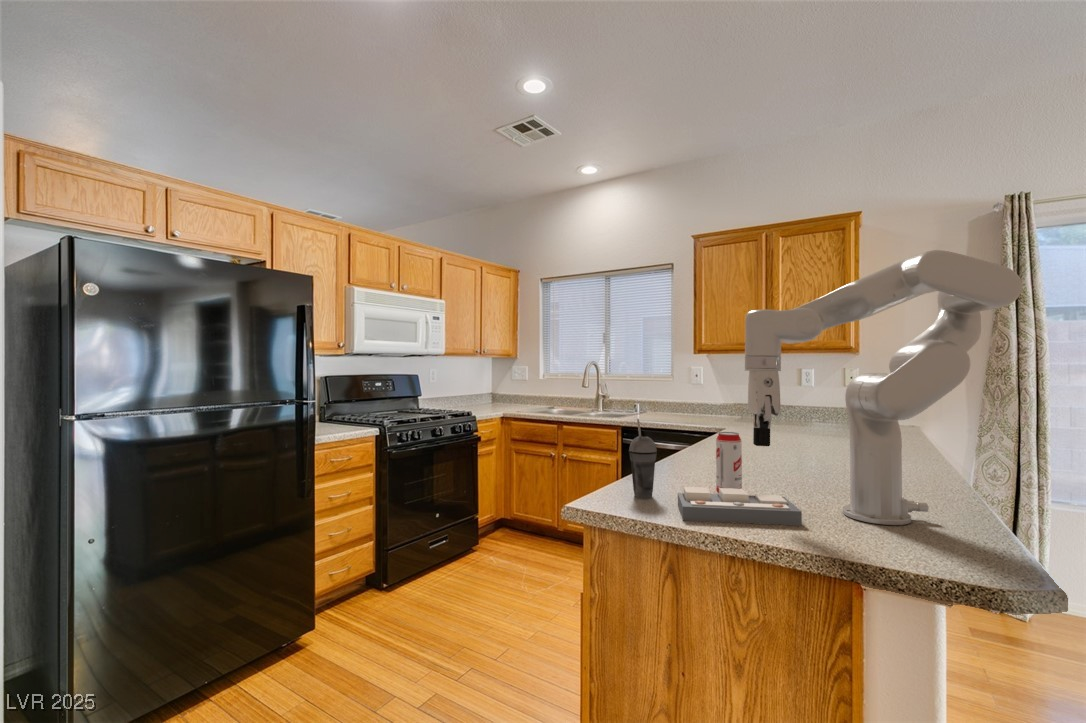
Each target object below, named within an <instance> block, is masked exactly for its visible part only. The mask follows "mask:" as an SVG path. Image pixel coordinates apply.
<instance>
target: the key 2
mask: <svg viewBox="0 0 1086 723" xmlns="http://www.w3.org/2000/svg"><path fill="white" fill-rule="evenodd" d="M754 496H755V499H756V500H757V501H758V502H759V503H760V504H784V505H787V501H786V500H785V499H784V498H782V497H783V496H781V495H780V494H779V495H778V494H754Z"/></svg>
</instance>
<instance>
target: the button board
mask: <svg viewBox="0 0 1086 723" xmlns="http://www.w3.org/2000/svg"><path fill="white" fill-rule="evenodd" d="M748 495H749V503H741V502H722V501H721V500H720V498H719V493H711V502H709V501H685V499H684V492H677V506H678V510H679V513H680V517H681V520H682V521H684V522H685V521H689V522H707V521H716V523H728V522H742V523H741V524H750V523H761V524H760V525H771V524H778V525H777V526H793V527H794V526H796V527H797V526H798V527H802V526H803V524H802V522H803V520H802V519H803V516H802V515H803V514H802V511H801V509H800V508H798V507H797V506H796V505H795V504H793V502H791V501H790V500H789V499H787V497H786V496H781V497H782V498H784V499H785V500H786V501H787V505H784V504H760V503H759V502H758V501H757V500H756V499H755V495H750V494H748ZM744 522H745V523H744ZM779 524H780V525H779Z"/></svg>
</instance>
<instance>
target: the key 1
mask: <svg viewBox="0 0 1086 723" xmlns="http://www.w3.org/2000/svg"><path fill="white" fill-rule="evenodd" d="M683 493H684V499H685V501H709V502H711V494H712V493H711V491H710V489H709V487H704V486H702V487H701V486H699V487H697V486H683Z"/></svg>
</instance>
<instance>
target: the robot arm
mask: <svg viewBox="0 0 1086 723" xmlns="http://www.w3.org/2000/svg"><path fill="white" fill-rule="evenodd" d="M1022 290H1023V283H1022V279H1021V278H1020V276H1019V274H1018V273H1016V271H1014V270H1013V269H1011V268H1009V267H1007V266H1005V265H1002V264H999V263H995V262H991V261H988V260H984V259H981V258H976V257H973V256H969V255H966V254H965V255H964V254H961V253H957V252H953V251H949V250H941V249H940V250H939V249H934V250H928V251H925V252H923V253H920V254H917V255H915V256H911V257H908V258H906V259H903V260H901V261H898V262H896V263H894V264H892V265H889V266H887V267H884V268H882V269H880V270H877V271H875V272H873V273H870V274H867V275H866V276H864V277H861V278H859V279H856V280H854V281H852V282H849V283H847V284H845V285H843V286H841V287H839V288H837V289H835V290H833V291H830V292H829V293H827V294H824V295H823V296H820V297H818V298H815V299H813V300H811V301H809V302H807V303H804V304H802V305H799V306H798V307H795V308H791V309H785V310H784V309H783V310H776V309H768V308H767V309H755V310H750V311H748V312H747V314H746V315H745V321H744V323H745V325H744V326H745V327H744V328H745V329H744V332H745V334H744V336H745V337H744V338H745V339H744V371H748V372H749V373H748V387H747V409H748V411H749V412H751V414H753V415H752V416H753V432H752V434H753V439H752V440H753V442H752V444H753V445H754V446H756V447H770V446H771V422H772V415H773V416H780V414H781V412H782V410H781V408H782V406H781V383H780V375H779V372H782V343H784V344H788V345H791V344H792V345H793V344H797V343H798V344H800V343H801V344H802V343H808V342H810V341H813V340H815V339H816V338H818V337H819V336H820V335H821V334H822V332H823V331H825V330H828V329H831V328H834V327H836V326H837V327H838V326H839V325H845V324H848V323H854V322H857V321H861V320H864V319H867V318H870V317H873V316H875V315H878V314H879V313H882V312H884V311H886V310H888V309H891V308H894V307H896V306H898V305H901V304H903V303H906V302H907V301H910V300H912V299H915V298H918V297H920V296H923V295H925V294H926V295H927V294H929V293H934V292H935V293H936V292H938V293H937V306H938V307H937V308H938V312H937V313H938V314H937V317H936V319H935V321H934V322H933V323H932V324H931V325H930V326H929V327H928V328H927V329H925V330H924V331H923V332H921V333H920V334H919V335H917V336H916V337H915V338H913V339H912V340H910V341H909V342H908V343H906V344H904V345H903V346H902V347H901V348H899V349H898V350H897V351H895V353H894V354H893V355H892V357H891V358H890V360H889V363H888V368H889V371H890V373H887V372H886V373H883V372H882V373H881V372H869V373H863V374H860V375H857V376H856V377H854V378H853V379H852V380H850V382H849V383H848V385H847V387H846V389H845V390H846V391H845V394H844V396H845V397H844V398H845V400H844V401H845V407H846V412H847V413H846V414H847V417H848V426H849V478H850V479H849V480H850V482H849V484H850V485H849V488H850V496H849V497H850V504H846V505H843V507H842V514H843V515H844V516H847V517H849V518H850V519H854V520H855V521H856V520H857V521H860V522H864V523H869V524H876V525H885V526H904V525H908V524H910V523H912V515H911V513H912V512H918V513H923V512H924V513H927V512H929V508H930V507H929V505H928V503H927V502H917V501H916V502H915V501H914V500H908V499H906V498H904V497H903V462H902V461H903V459H902V458H903V456H902V454H903V452H902V450H903V449H902V448H903V447H902V446H903V445H902V444H903V442H902V439H903V438H902V433H901V432H902V431H901V427H900V424H899V423H900V422H899V421H906V420H909V419H912V418H914V417H916V416H918V415H919V414H921V413H923V412H924V411H926V410H927V409H928V408H929V407H931V406H933V405H934V404H936V402H938V401H940V400H941V399H942V398H943V397H946V396H947V395H948V394H949V393H950V392H952V391H954V390H955V388H957V387H958V386H960V385H961V384H962V383H963V381H964V380H965V379H966V377H967V376H968V374H969V373H970V368H971V358H970V355H969V353H968V352H969V351H970V350H971V349H973V347H974V346H976V344H977V343H978V341H979V339H980V337H981V333H982V315H981V312H982V311H985V312H986V311H991V310H997V309H1002V308H1005V307H1007V306H1009V305H1011V304H1012V303H1014V302H1015V301H1017V299H1018V298H1019V297H1020V296H1021V293H1022ZM909 513H910V514H909Z"/></svg>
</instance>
